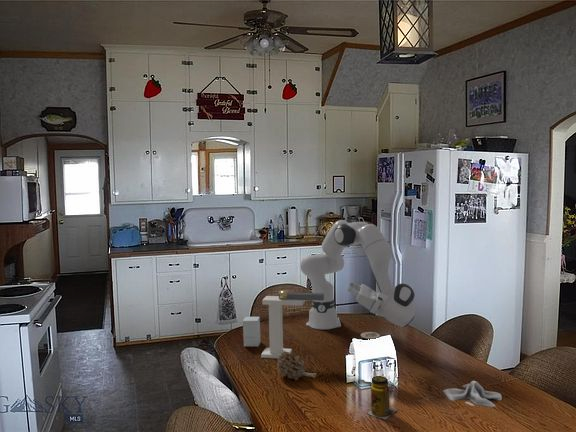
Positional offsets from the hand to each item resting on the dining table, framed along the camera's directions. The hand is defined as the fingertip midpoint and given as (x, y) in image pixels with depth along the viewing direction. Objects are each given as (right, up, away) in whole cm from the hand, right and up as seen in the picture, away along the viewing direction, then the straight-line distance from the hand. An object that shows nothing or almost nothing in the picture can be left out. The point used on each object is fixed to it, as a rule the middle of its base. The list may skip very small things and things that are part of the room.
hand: (349, 285), depth 219 cm
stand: (-28, -32, +9) cm, 44 cm away
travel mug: (+6, -34, -20) cm, 40 cm away
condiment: (+5, -36, -48) cm, 60 cm away
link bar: (-21, -7, +5) cm, 22 cm away
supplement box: (-44, -32, +25) cm, 60 cm away
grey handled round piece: (-23, -35, -20) cm, 46 cm away
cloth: (+41, -36, -38) cm, 66 cm away
